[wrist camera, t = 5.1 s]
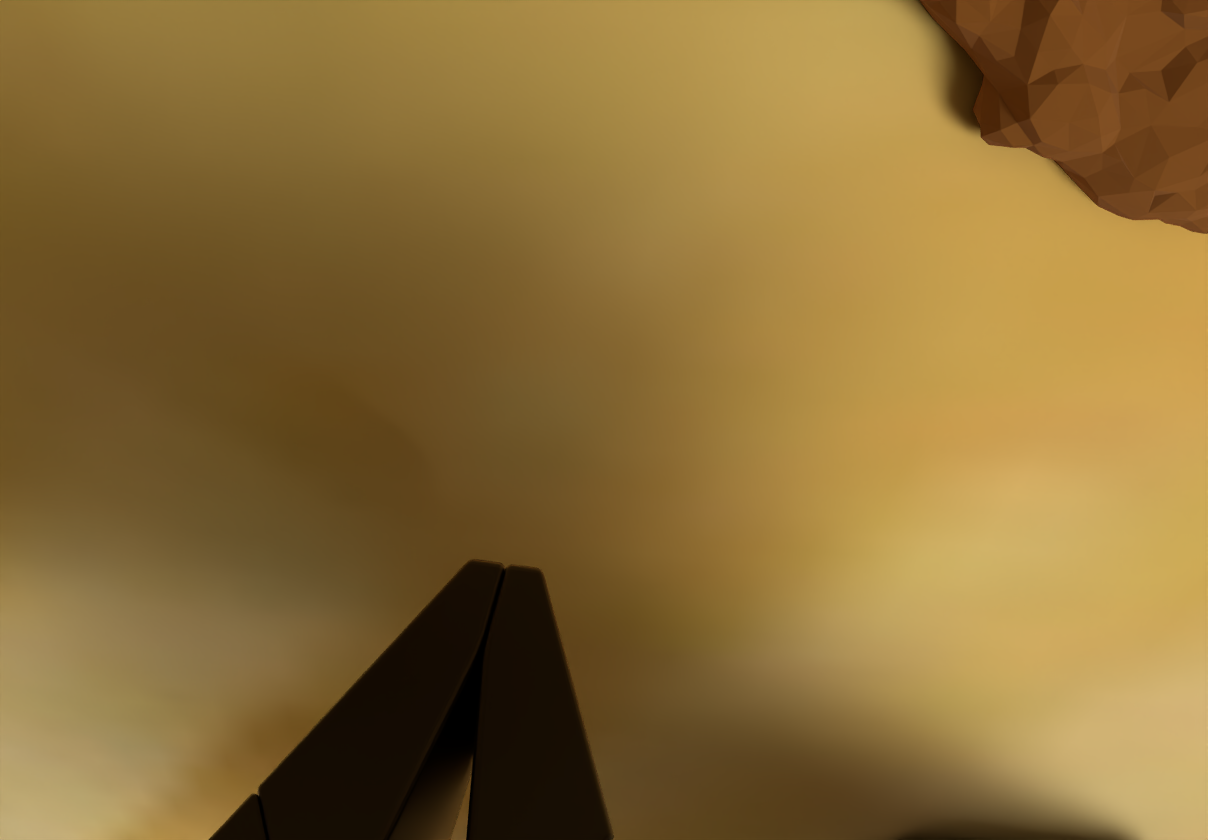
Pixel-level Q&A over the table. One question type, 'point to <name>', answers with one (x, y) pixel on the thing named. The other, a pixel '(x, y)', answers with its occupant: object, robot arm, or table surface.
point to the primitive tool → (1098, 94)
